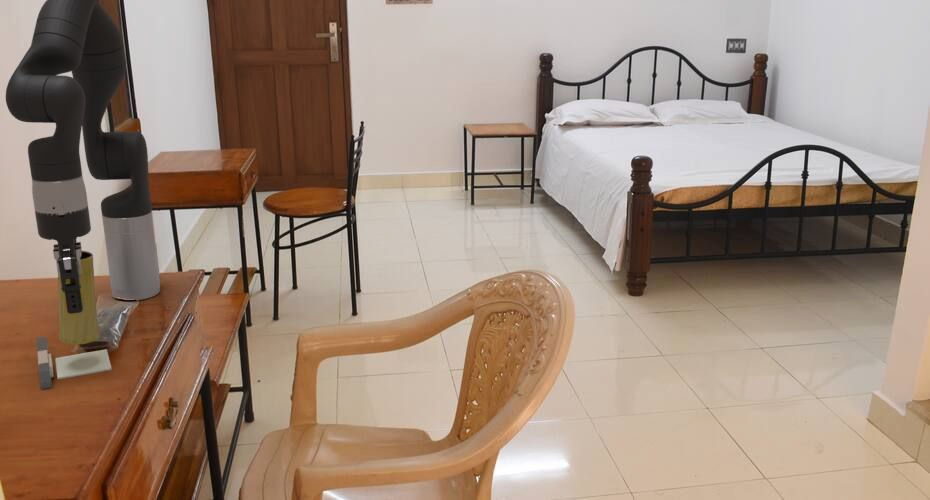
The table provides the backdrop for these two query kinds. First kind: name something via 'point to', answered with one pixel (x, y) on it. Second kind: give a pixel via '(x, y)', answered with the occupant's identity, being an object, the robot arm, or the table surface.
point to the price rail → (44, 363)
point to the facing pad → (82, 364)
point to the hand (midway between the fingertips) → (75, 305)
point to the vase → (84, 323)
